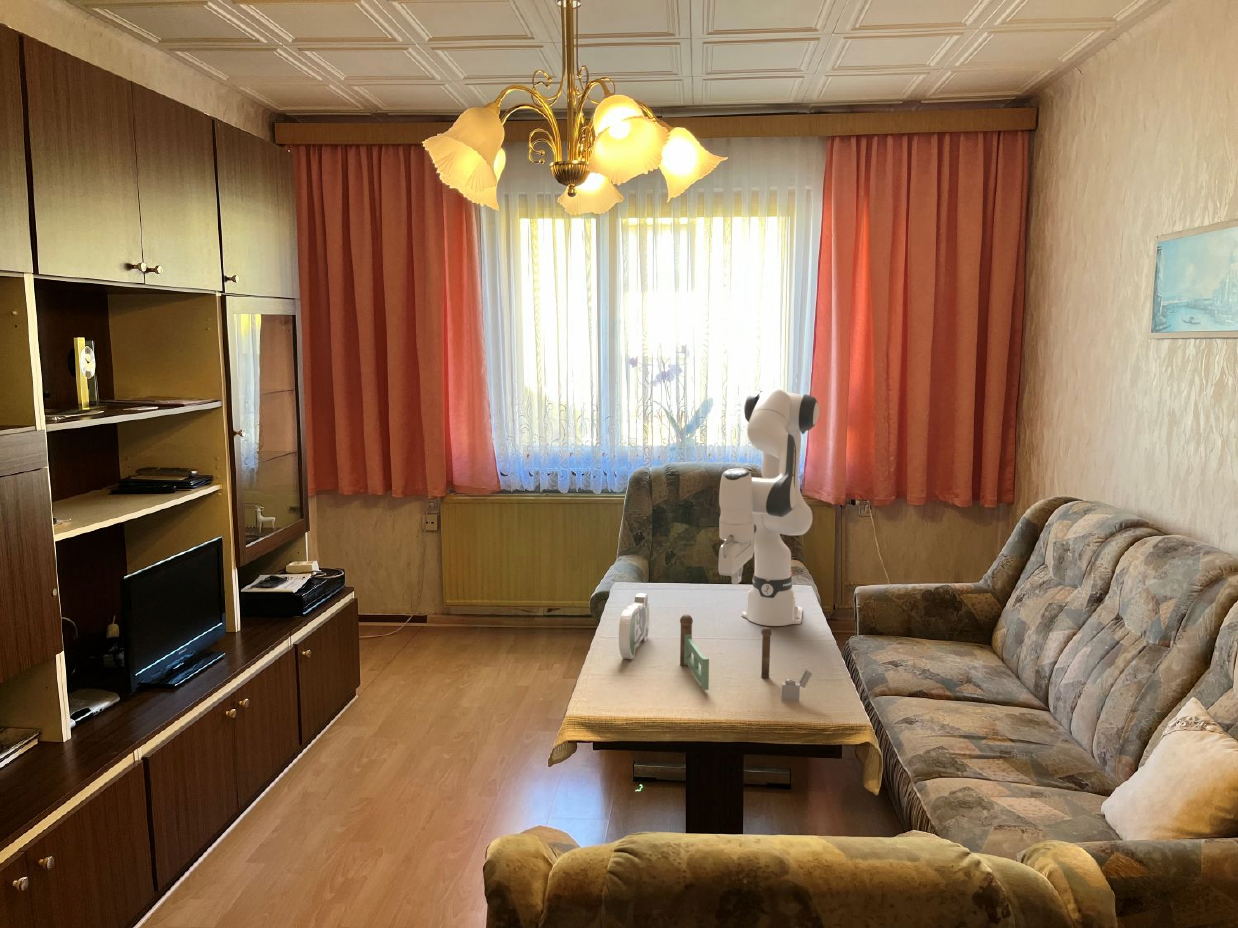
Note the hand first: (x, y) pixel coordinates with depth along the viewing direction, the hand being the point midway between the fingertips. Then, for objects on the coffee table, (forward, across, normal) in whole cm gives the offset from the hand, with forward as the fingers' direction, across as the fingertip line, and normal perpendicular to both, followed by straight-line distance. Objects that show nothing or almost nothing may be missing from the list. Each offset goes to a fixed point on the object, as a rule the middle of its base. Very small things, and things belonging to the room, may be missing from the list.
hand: (736, 582), depth 244 cm
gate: (+22, -12, +7) cm, 26 cm away
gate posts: (+24, -3, +2) cm, 24 cm away
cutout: (+24, +2, +31) cm, 39 cm away
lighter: (+24, -14, -20) cm, 34 cm away
